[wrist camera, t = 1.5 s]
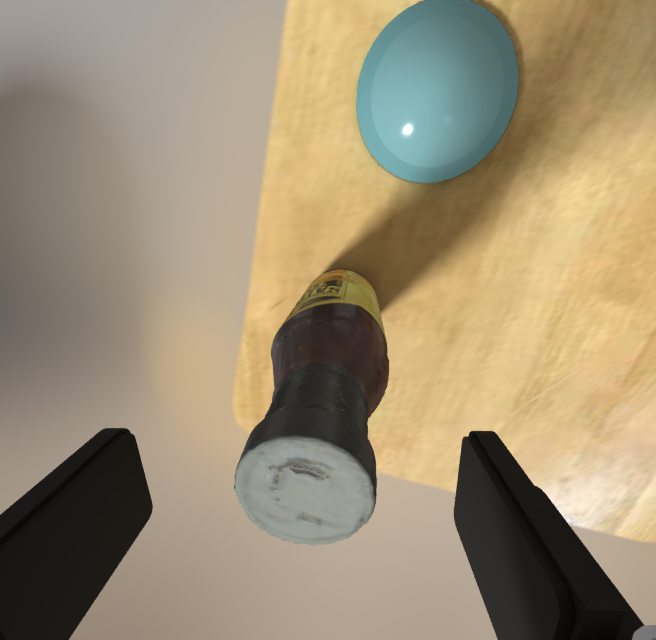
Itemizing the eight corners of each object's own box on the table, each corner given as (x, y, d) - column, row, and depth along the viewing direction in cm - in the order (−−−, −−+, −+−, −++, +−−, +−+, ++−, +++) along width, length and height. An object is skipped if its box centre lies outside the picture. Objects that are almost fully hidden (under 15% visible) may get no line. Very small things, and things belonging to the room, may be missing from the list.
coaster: (524, -3, 20) (532, -13, 19) (501, 180, 23) (507, 178, 22) (356, 12, 21) (356, 3, 20) (356, 186, 24) (356, 185, 23)
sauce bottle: (337, 251, 26) (299, 324, 7) (391, 299, 27) (490, 484, 8) (289, 306, 27) (153, 489, 8) (341, 350, 28) (321, 602, 9)
